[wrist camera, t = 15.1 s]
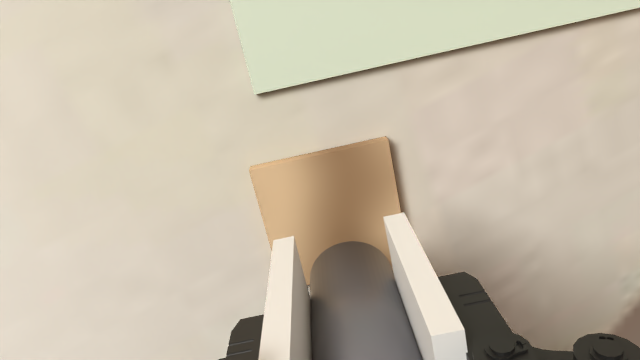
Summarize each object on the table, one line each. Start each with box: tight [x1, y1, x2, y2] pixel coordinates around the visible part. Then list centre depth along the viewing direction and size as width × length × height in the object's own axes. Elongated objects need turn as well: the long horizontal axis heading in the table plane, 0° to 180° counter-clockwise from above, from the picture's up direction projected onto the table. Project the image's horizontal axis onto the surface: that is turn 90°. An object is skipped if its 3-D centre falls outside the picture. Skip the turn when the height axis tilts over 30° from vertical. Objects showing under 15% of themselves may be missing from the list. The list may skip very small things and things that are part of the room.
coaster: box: [249, 136, 401, 285], centre depth 21 cm, size 6×6×1 cm
